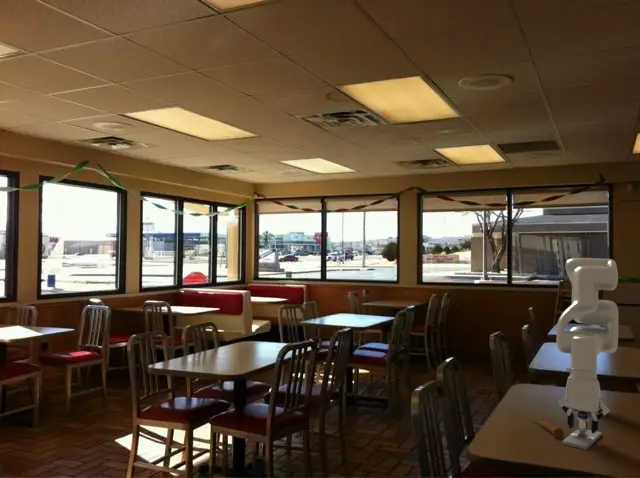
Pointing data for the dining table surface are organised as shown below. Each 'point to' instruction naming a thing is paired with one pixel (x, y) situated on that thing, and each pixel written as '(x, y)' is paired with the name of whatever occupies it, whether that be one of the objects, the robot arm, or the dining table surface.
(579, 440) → the panel
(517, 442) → the dining table surface
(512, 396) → the dining table surface
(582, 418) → the steel peg
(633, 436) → the dining table surface
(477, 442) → the dining table surface
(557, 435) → the primitive tool
